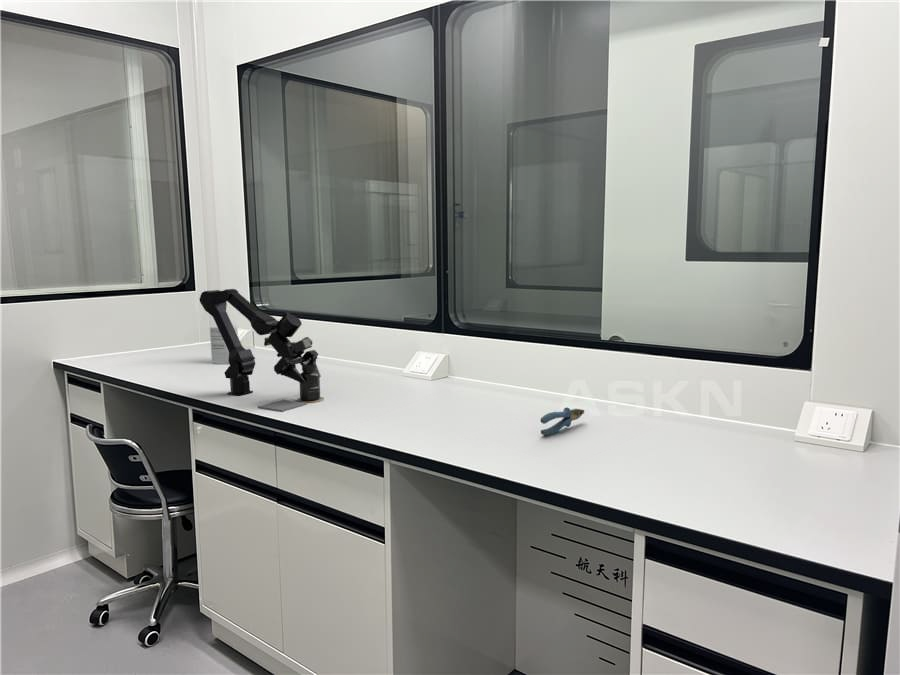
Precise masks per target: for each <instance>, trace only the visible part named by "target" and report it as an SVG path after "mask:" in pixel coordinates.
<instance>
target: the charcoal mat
mask: <svg viewBox="0 0 900 675" xmlns="http://www.w3.org/2000/svg"><path fill="white" fill-rule="evenodd" d="M307 404H308V403H303V402H297V400H296V401H295V400H288V399H280V400H277V401H273V402H268V403H265V404H262V405H258V406H257V408H258V409H261V410H263V409H264V410H269V411H274V412H275V411H276V412H281V413H282V412H286V411H290V410H294V409H297V408H299V407H302V406H306V405H307Z"/></svg>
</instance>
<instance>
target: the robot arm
mask: <svg viewBox="0 0 900 675" xmlns="http://www.w3.org/2000/svg"><path fill="white" fill-rule="evenodd" d="M199 303H200V304H201V306H202V308H203V309H204V311H205V312H206V313H208V314H209V315H210V316H211V317H212V318H213V320H214V324H216V325H215V326H217V327H218V329H219V331H220V333H221V336H222V338H223V340H224V342H225V344H226V346H227V349H228V351H229V359H228V361H229V364H228V365H229V366H228V367H227V369H226V370H225V371H224V373H223V374H224V376H225V378H226V379H229V385H230V391H228V392H227V395H233V396H243V395H244V396H245V395H248V394H251V393H254V391H253V390H251V386H250V385H251V384H250V379H249V376H251V375H253V373H254V369H255V366H256V357H255V356H254V355H253V353H252V349H250V348H245V347H244V346H243V345H242V342H241V341H240V338H239V335H238V336H237V334H236V332H235V330H234V327H233V325H234V324H233V323H232V321H231V319H230V317H229V315H228V312H227V306H228V304H227V303H229V305H231V306H232V307H233V308H234V309H235V310H236V311H238V312H239V313H240V314H241V315H243V317H244V318H246V319H247V320H248V322H249V323H250V327H251V328H252V329H253V330H254V331H255V333H256V334H257V335H259V336H265V335H269V336H268V337H264V341H263V342H264V343H263V346H264V347H267V346H272V348H273V349H274V350H275V352H277V354H276V356H277V357H278V358H280V359H279V360H278V361H277V363H275V365H274V366H273V371H274V372H275V373H276V374H277V375H280V376H284V377H285V378H289V379H292V380H293V381H296V382H298V383H299V382H300V383H304V382H305V380H304V379H303V377H302V376H301V372H299V370H298V369H297V365H298V364H299V365H300V366H302V365H303V364H316V368H317V370H316V372H318V373H319V375H320V378H321V372H320V370H319V368H318V365H317V359H318V356H319V353H318V352H317V351H316V350H315V349H310V348H312V347H313V340H312V339H311V338H310V337H309V336H306V337H303V338H302V339H300V340H299V341H295V342H294V341H292V342H291V340H290V339H289V338H292V337H293V336H294V335H295V334H296V332H297V331H298V330H299V328H300V327H301V326H302V324H303V323H302V321H301V318H299V317H297V316H295V315H293V314H291V313H290V312H284V314H282V317H281V318H280V320H278V319H276V318H275V317H274V316H271V315H270V314H268V313H265V312H262V311H261V310H259V309H258V308H257V307H256V306H254V305H253V304H252V303H251V302H250V301H248V300H247V299H246V298H245V297H244V296H243V295H241V294H240V293H239V291H238V290H237V289H235V288H227V289H223V290H220V289H215V290H214V289H213V290H204V291H203V292H201V294H200V297H199ZM307 349H310V350H308V351H306V350H307Z"/></svg>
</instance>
